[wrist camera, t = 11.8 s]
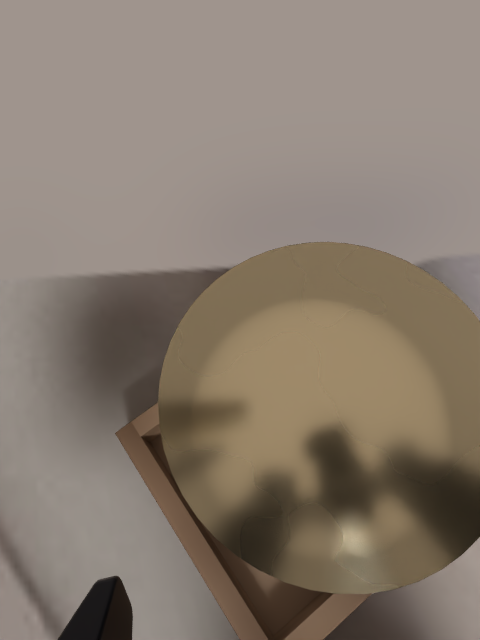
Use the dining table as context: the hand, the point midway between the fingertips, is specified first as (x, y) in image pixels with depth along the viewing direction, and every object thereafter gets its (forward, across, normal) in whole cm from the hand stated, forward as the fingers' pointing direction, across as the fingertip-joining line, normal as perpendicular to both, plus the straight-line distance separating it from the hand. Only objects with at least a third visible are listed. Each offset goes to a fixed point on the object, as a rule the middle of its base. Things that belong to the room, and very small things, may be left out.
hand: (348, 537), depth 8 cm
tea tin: (+9, 0, +6) cm, 11 cm away
